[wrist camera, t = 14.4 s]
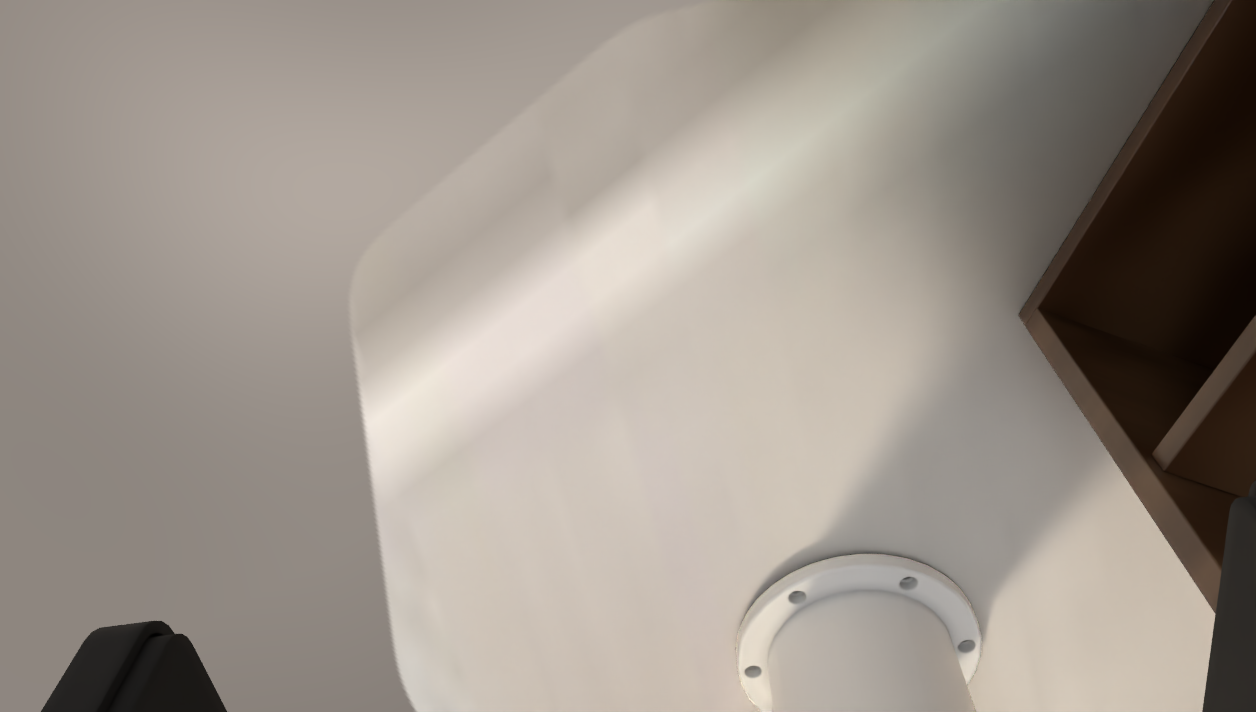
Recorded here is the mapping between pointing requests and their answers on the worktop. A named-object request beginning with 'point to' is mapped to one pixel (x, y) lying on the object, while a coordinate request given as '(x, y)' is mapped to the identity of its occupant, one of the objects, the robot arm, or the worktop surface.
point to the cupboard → (1171, 296)
